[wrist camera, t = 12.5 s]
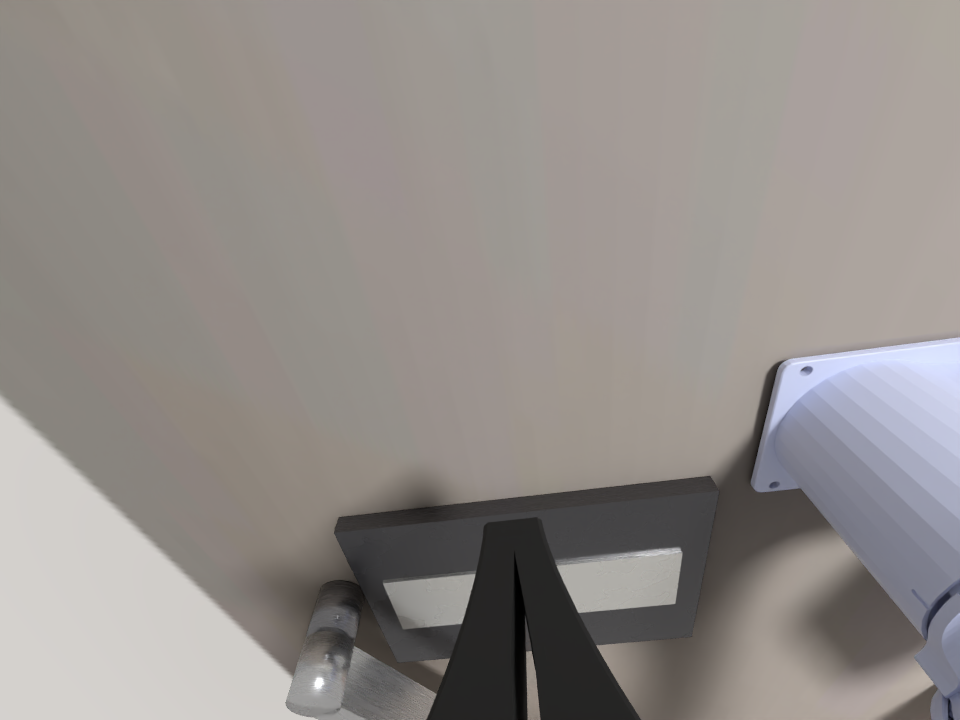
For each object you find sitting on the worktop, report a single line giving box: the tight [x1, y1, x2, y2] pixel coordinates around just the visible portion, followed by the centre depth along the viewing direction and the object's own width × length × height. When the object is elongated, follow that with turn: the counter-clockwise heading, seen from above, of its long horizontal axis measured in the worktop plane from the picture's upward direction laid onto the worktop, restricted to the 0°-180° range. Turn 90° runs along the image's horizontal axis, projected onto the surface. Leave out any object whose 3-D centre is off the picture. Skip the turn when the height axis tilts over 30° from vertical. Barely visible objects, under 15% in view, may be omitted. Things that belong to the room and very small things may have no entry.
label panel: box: [306, 476, 719, 663], centre depth 26 cm, size 23×14×3 cm, turn 98°
